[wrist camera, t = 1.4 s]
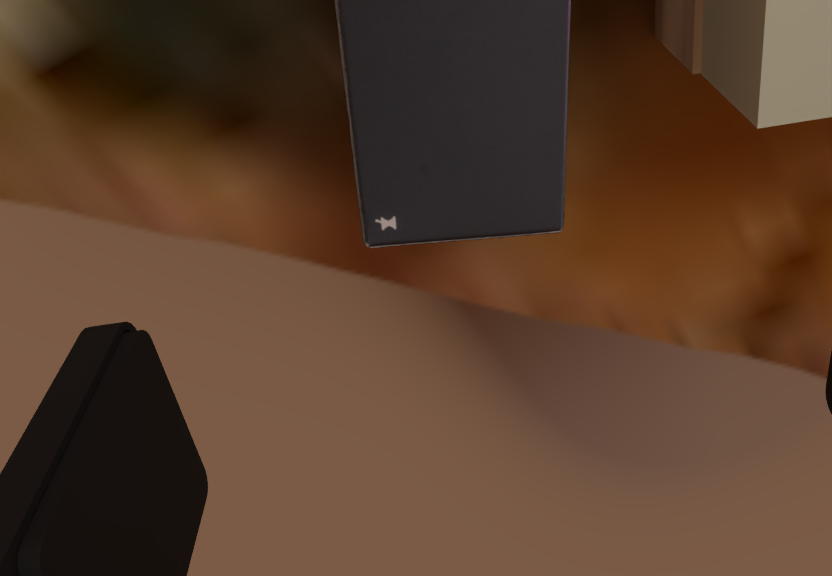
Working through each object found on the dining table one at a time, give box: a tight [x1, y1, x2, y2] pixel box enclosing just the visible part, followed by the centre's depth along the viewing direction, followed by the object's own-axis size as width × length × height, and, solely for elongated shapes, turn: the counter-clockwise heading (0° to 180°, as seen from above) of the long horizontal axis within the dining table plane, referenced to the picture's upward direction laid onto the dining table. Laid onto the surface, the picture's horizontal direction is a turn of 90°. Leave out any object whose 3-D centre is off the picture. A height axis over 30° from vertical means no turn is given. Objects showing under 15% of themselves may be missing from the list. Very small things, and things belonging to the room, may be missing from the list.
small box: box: [335, 0, 571, 248], centre depth 25 cm, size 11×6×10 cm, turn 4°
